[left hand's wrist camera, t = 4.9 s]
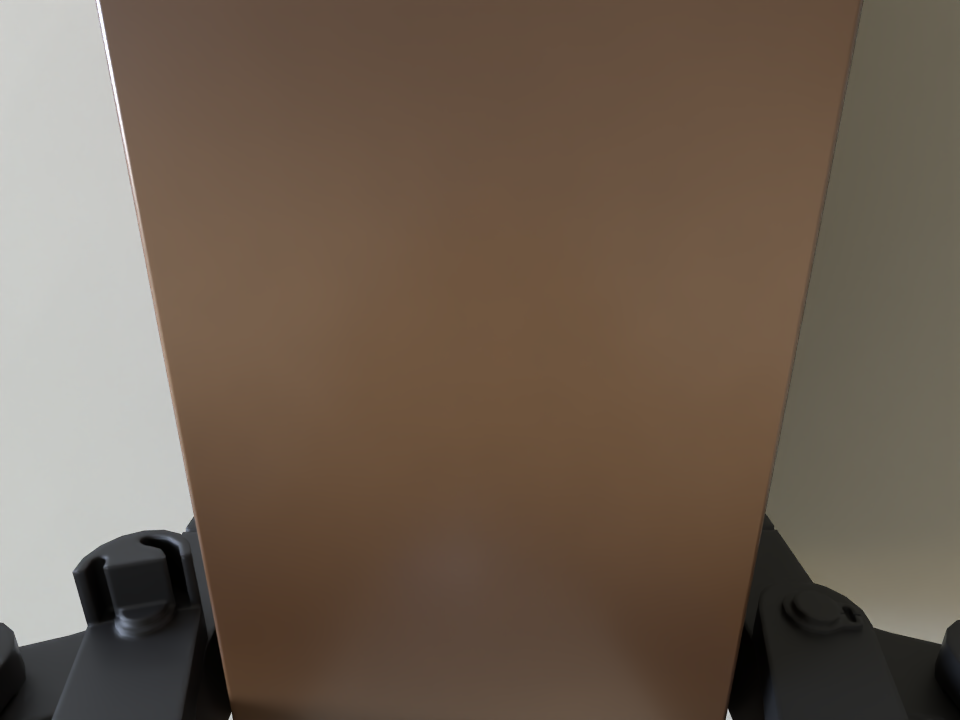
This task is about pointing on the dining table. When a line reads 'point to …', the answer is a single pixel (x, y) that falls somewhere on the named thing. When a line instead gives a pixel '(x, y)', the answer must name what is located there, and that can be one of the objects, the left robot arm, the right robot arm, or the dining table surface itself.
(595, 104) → the post
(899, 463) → the dining table surface
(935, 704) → the left robot arm
